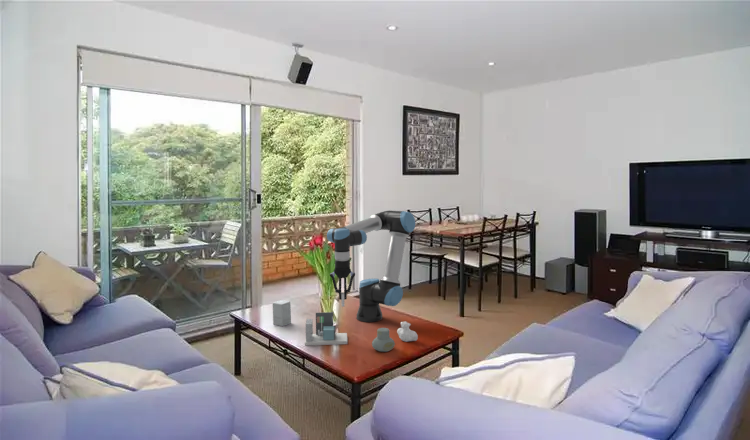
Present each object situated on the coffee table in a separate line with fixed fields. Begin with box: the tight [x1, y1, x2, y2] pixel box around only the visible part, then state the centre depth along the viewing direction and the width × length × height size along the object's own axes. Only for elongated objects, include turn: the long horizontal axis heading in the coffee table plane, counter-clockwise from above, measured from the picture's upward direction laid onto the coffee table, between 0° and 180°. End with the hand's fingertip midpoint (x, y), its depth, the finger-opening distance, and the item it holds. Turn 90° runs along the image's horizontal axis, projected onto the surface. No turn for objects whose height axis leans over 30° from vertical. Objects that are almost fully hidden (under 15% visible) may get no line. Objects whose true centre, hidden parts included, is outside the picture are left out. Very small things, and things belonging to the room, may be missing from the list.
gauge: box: [318, 316, 336, 340], centre depth 232 cm, size 9×8×10 cm
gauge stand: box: [304, 311, 348, 347], centre depth 232 cm, size 21×12×13 cm, turn 95°
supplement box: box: [272, 299, 292, 327], centre depth 259 cm, size 7×7×13 cm
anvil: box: [305, 318, 314, 342], centre depth 231 cm, size 3×8×9 cm, turn 5°
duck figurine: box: [396, 320, 419, 343], centre depth 232 cm, size 12×8×11 cm
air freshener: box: [371, 327, 396, 353], centre depth 220 cm, size 11×8×10 cm
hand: (342, 305), depth 231 cm, fingers closed
